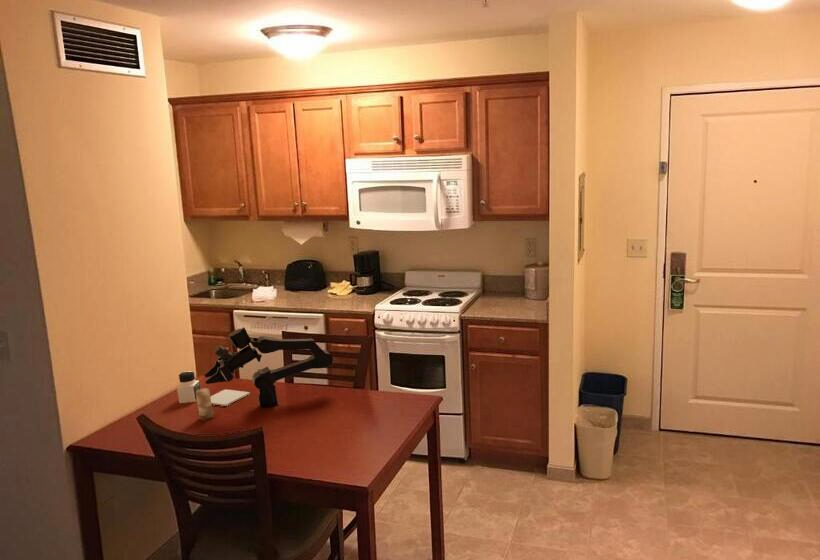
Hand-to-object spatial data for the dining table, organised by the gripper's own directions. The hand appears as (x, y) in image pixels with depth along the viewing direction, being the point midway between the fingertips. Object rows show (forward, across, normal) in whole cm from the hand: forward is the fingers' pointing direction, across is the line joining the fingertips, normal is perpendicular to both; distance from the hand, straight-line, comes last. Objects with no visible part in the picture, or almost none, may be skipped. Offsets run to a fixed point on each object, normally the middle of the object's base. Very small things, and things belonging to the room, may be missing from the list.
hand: (205, 379), depth 254 cm
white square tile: (-1, -18, +16) cm, 24 cm away
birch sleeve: (+7, 0, +13) cm, 15 cm away
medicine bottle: (+12, -26, +11) cm, 31 cm away
